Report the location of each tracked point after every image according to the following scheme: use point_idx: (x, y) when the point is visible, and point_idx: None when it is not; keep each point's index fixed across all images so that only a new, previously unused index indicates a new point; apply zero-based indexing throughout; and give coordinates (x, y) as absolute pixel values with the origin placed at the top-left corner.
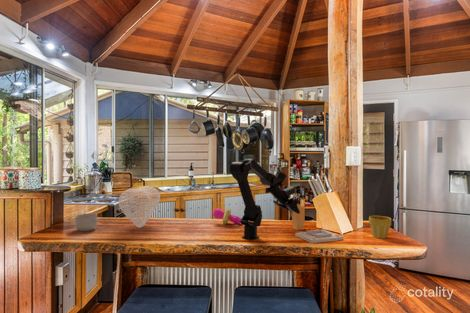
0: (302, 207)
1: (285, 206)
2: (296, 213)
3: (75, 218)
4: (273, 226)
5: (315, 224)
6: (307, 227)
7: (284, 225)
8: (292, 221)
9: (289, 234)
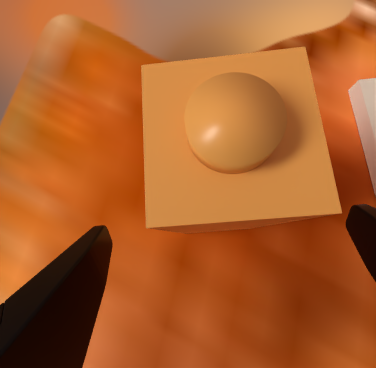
0: (310, 98)
1: (61, 356)
2: (273, 223)
3: None
4: (98, 355)
5: (135, 45)
6: None
7: None
8: (183, 232)
9: (365, 352)
